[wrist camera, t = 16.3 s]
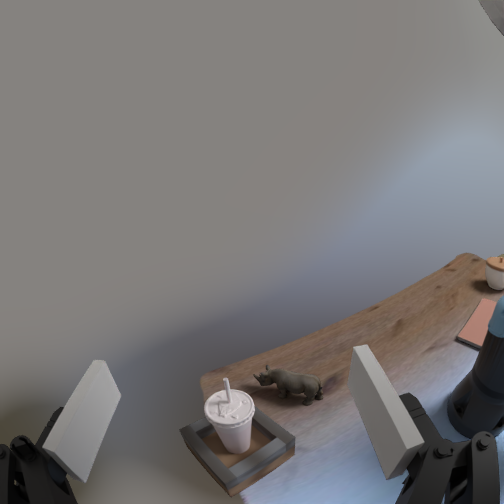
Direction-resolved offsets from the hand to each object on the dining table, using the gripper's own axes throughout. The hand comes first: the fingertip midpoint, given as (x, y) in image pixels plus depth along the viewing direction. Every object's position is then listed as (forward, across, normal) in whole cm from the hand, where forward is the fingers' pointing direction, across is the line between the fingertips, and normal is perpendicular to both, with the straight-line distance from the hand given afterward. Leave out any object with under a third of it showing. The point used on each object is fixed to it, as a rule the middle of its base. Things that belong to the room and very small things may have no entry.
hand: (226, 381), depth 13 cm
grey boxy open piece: (+14, -3, -30) cm, 33 cm away
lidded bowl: (+50, +90, -30) cm, 107 cm away
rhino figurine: (+27, +6, -30) cm, 41 cm away
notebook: (+30, +66, -31) cm, 79 cm away
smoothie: (+14, -3, -27) cm, 30 cm away
